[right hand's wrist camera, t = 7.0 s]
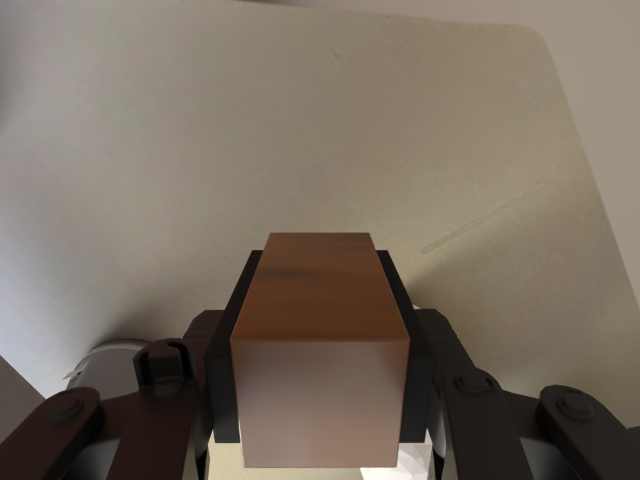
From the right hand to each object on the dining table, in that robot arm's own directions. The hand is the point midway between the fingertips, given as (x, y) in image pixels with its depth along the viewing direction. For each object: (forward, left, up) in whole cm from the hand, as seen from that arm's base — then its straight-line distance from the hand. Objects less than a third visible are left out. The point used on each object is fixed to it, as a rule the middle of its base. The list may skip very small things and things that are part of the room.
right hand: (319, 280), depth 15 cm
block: (0, 0, 0) cm, 0 cm away
